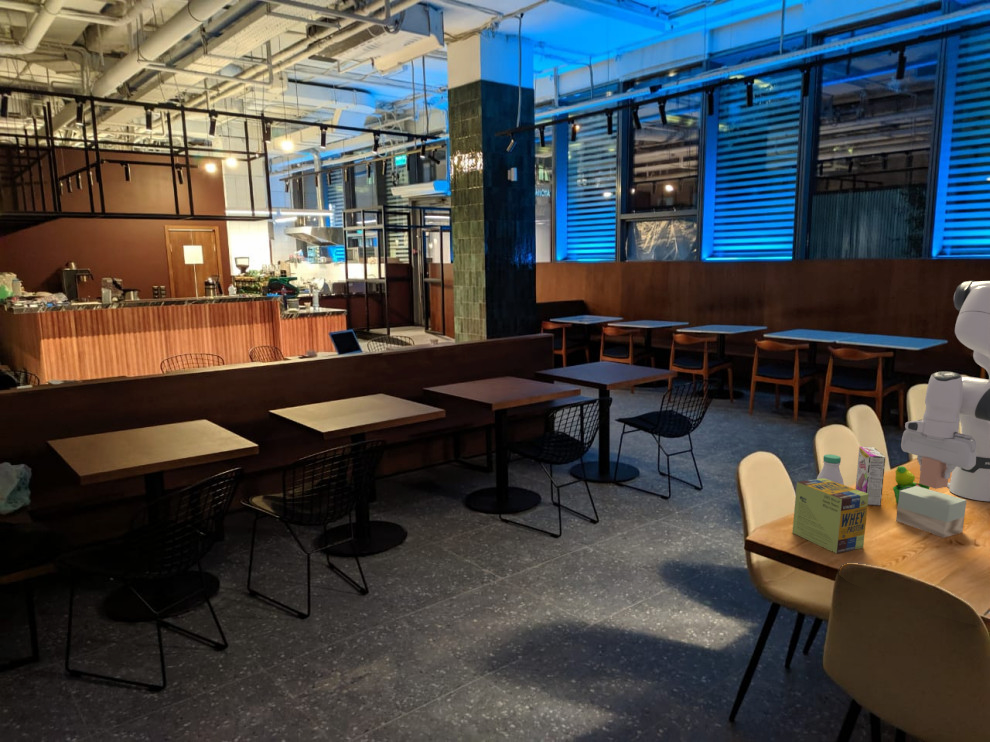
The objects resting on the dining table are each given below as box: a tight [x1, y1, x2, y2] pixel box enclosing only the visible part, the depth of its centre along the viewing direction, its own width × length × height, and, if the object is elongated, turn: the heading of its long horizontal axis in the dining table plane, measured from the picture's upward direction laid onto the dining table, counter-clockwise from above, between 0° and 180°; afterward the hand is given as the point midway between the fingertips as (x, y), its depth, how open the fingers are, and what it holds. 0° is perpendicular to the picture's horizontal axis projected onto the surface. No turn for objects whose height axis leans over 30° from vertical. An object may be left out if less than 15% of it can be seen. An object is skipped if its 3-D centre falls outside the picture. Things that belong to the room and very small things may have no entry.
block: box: [918, 457, 949, 490], centre depth 200 cm, size 5×5×8 cm
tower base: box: [895, 506, 965, 539], centre depth 203 cm, size 9×14×5 cm, turn 26°
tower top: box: [897, 486, 967, 522], centre depth 202 cm, size 9×14×5 cm, turn 30°
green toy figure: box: [892, 465, 931, 504], centre depth 223 cm, size 11×9×11 cm
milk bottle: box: [816, 453, 845, 485], centre depth 206 cm, size 8×8×20 cm
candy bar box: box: [855, 446, 886, 507], centre depth 224 cm, size 11×5×16 cm, turn 168°
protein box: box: [791, 478, 869, 554], centre depth 192 cm, size 10×15×16 cm
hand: (934, 474), depth 200 cm, fingers closed on block, 5 cm apart
